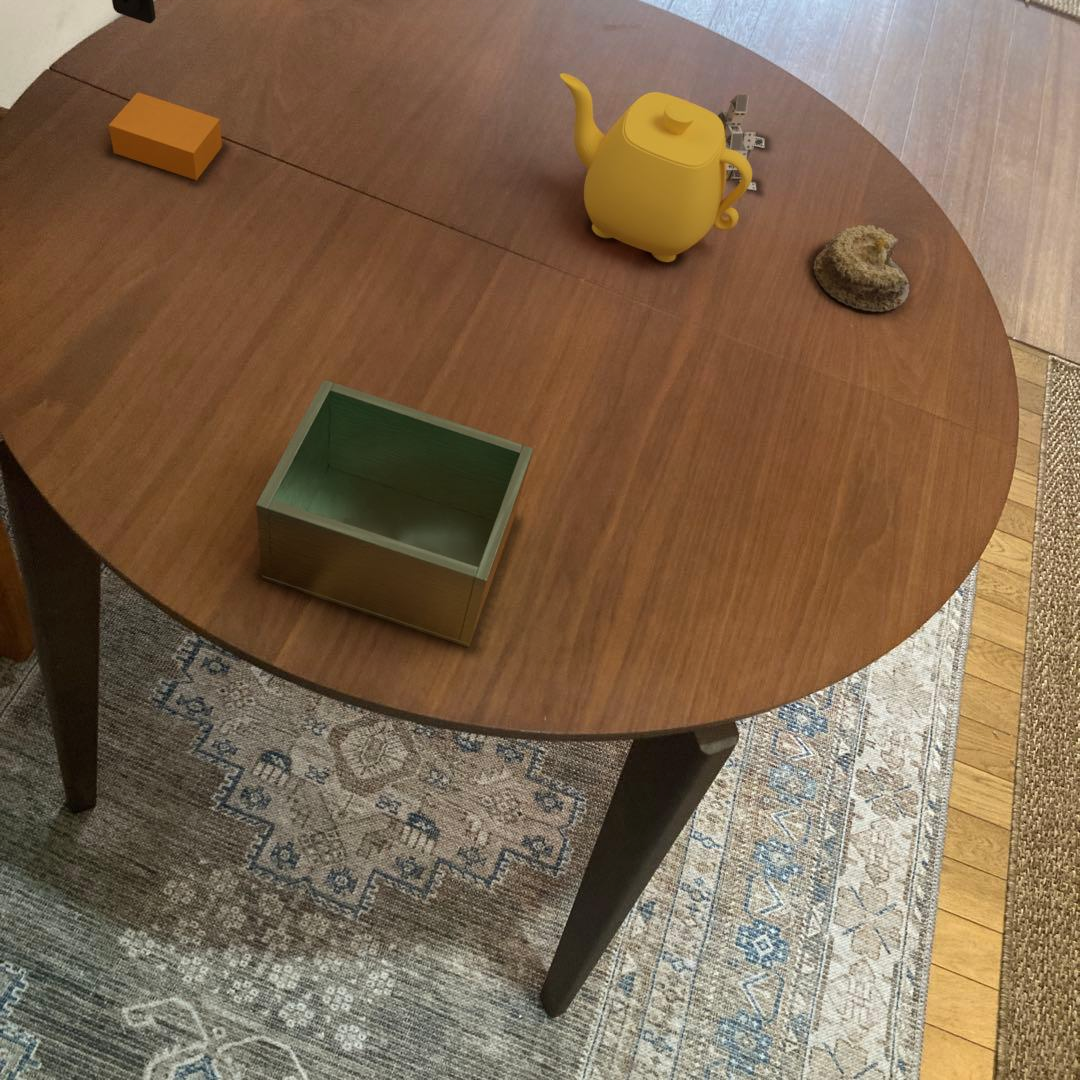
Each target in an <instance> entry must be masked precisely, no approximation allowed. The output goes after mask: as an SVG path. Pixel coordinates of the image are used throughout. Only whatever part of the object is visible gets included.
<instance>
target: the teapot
mask: <svg viewBox="0 0 1080 1080" xmlns="http://www.w3.org/2000/svg"><path fill="white" fill-rule="evenodd" d="M559 77H560V79H561V81H562V82H563V83H564V84H565V86H566V87H567V88H568V90H569V91H570V93H571V95H572V98H573V99H574V107H575V108H574V109H575V111H574V112H575V116H574V128H573V129H574V130H573V142H574V143H573V144H574V149H575V152H576V155H577V157H578V158H579V160H580V162H581V163H582V164H583V166H584V167H585V168H586V169H587V173H586V177H585V180H584V185H583V186H584V187H583V201H584V202H583V203H584V206H585V209H586V212H587V215H588V218H589V220H590V221H591V223H592V225H591V230H592V231H593V233H594V234H595V235H596V236H598V237H600V238H603V239H615V240H617V241H620V242H621V243H624V244H626V245H629V246H631V247H634V248H635V249H639V250H642V251H645V252H648V253H651V255H652V256H653V258H655V259H656V260H657V261H660V262H664V263H670V262H673V261H675V260H676V258H677V255H679V254H681V253H684V252H685V251H687V250H689V249H690V248H691V247H693V246H694V245H696V244H697V243H699V242H700V241H701V240H702V239H703V238H704V237H705V236H706V235H707V234H708V232H709V231H710V230H711V229H712V227H714V228H716V229H717V230H720V231H730V230H732V229H734V228H735V226H736V225H737V224H738V222H739V213H738V210H736V208H734V207H732V206H733V205H734V204H735V203H736V202H737V201H738V200H739V199H741V197H742V196H743V195H744V194H745V193H746V191H747V190H749V189H748V187H749V185H750V183H751V182H752V179H753V168H752V166H751V164H750V162H749V160H747V159H746V158H745V157H744V156H743V155H742V154H740V153H738V152H737V151H734V150H730V149H726V138H725V131H724V125H723V123H722V121H721V120H720V118H719V117H718V115H717V114H715V113H714V112H712V111H711V110H709V109H706V108H705V107H702V106H700V105H698V104H695V103H693V102H691V101H688V100H686V99H683V98H680V97H677V96H674V95H672V94H667V93H665V92H660V91H652V92H649V93H645V94H643V95H641V96H640V97H639V98H638V99H636V100H635V101H634V102H633V104H631V105H630V106H629V107H628V108H627V109H626V111H625V112H624V113H623V114H622V115H621V116H620V117H619V118H618V119H617V121H616V122H615V123H614V124H613V125H612V126H611V128H610V129H609V130H608V131H607V133H606V134H604V133H603V132H602V131H601V130H600V129H599V128H598V126H597V125H596V123H595V120H594V113H593V112H594V108H593V107H594V106H593V105H594V104H593V103H594V102H593V97H592V94H591V91H590V89H589V88H588V86H586V84H585V83H583V82H582V81H581V80H580V79H579V78H577V77H575V76H574V75H571V74H568V73H564V72H563V73H562V72H561V73H560V74H559ZM727 163H728V164H730V165H732V166H734V167H735V168H736V169H737V170H738V171H739V172H740V174H741V176H742V179H740V180H741V181H740V180H739V183H738V184H737V185H736V187H735V188H734V189H733V190H732V191H730V193H729V194H727V196H726V197H724V195H725V191H726V190H725V189H726V184H727V179H726V172H727ZM723 215H726V216H728V217H729V218H726V217H724V216H723Z"/></svg>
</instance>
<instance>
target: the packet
mask: <svg viewBox="0 0 1080 1080" xmlns="http://www.w3.org/2000/svg"><path fill="white" fill-rule="evenodd" d="M108 128H109V134H110V140H111V145H112V150H113V154H115V155H119V156H120V157H124V158H127V159H130V160H134V161H137V162H139V163H143V164H146V165H148V166H151V167H155V168H158V169H160V170H163V171H167V172H170V173H172V174H173V173H174V174H175V175H179V176H182V177H185V178H187V179H188V178H189V179H190V180H193V181H198V179H199V178H200V177H201V175H202V174H203V173H204V171H205V170H206V169H207V168H208V166H209V165H210V163H211V162H212V161H213V160H214V158H215V157H216V156H217V155H218V153H219V152H220V150H221V149H222V148H223V141H222V129H221V119H220V118H218V117H215V116H213V115H212V116H211V115H208V114H207V113H206V114H205V113H203V112H199V111H197V110H193V109H191V108H187V107H184V106H182V105H179V104H175V103H173V102H169V101H166V100H163V99H160V98H157V97H154V96H151V95H148V94H145V93H142V92H139V91H138V92H137V93H135V95H134V96H133V97H132V98H131V99H130V100H129V101H128V102H127V104H126V105H125V106H124V107H123V108H122V109H121V110H120V111H119V112H118V114H117V115H116V116H115V117H114V119H112V121H111V122H109V124H108Z"/></svg>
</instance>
